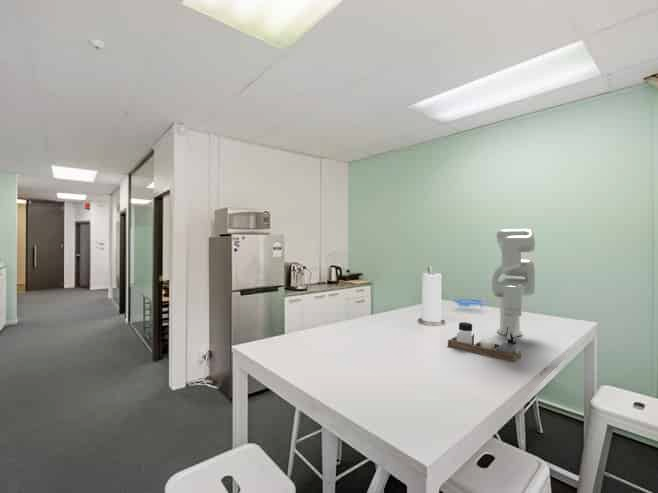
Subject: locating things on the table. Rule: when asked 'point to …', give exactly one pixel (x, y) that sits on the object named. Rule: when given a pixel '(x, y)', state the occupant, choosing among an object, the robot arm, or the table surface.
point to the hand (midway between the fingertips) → (511, 350)
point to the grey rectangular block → (507, 348)
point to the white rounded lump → (487, 344)
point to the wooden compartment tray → (483, 350)
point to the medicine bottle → (465, 333)
